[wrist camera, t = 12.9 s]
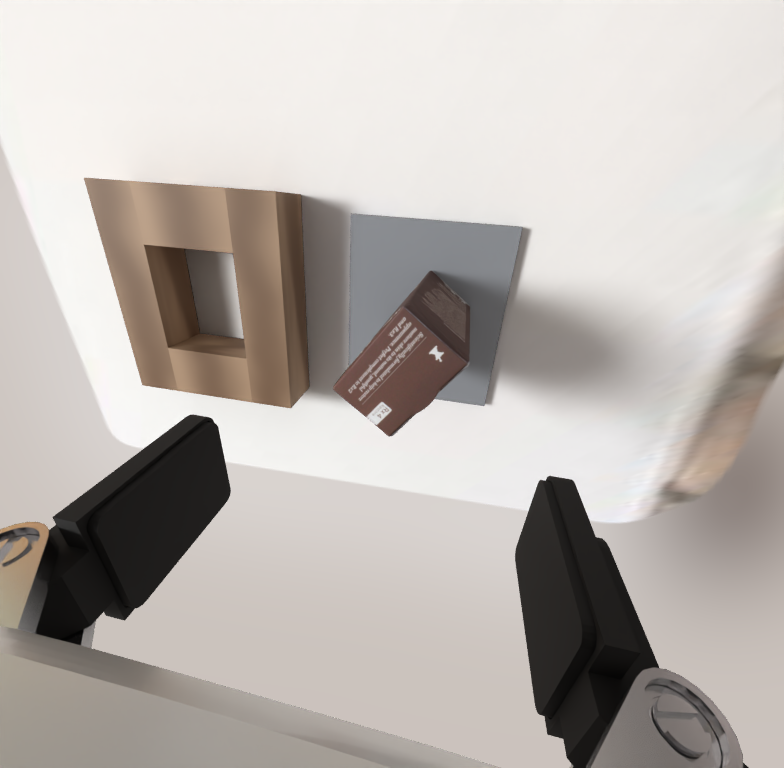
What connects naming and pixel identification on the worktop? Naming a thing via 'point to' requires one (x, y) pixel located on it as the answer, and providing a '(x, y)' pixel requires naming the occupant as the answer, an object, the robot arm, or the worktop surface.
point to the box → (410, 356)
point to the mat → (451, 264)
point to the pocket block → (174, 293)
